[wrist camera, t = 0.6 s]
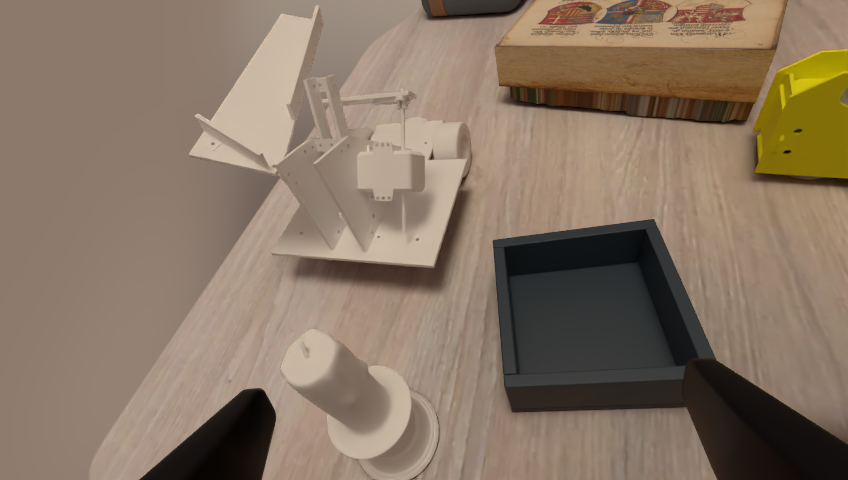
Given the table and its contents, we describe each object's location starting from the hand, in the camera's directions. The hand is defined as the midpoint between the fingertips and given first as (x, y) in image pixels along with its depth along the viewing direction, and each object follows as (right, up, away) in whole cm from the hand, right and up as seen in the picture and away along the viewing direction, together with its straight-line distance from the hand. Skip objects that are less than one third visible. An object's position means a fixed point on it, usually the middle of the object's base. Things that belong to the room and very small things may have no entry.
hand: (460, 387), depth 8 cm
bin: (+9, -3, +17) cm, 19 cm away
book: (+23, +26, +37) cm, 50 cm away
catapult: (-3, +6, +29) cm, 30 cm away
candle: (-2, -9, +16) cm, 18 cm away
